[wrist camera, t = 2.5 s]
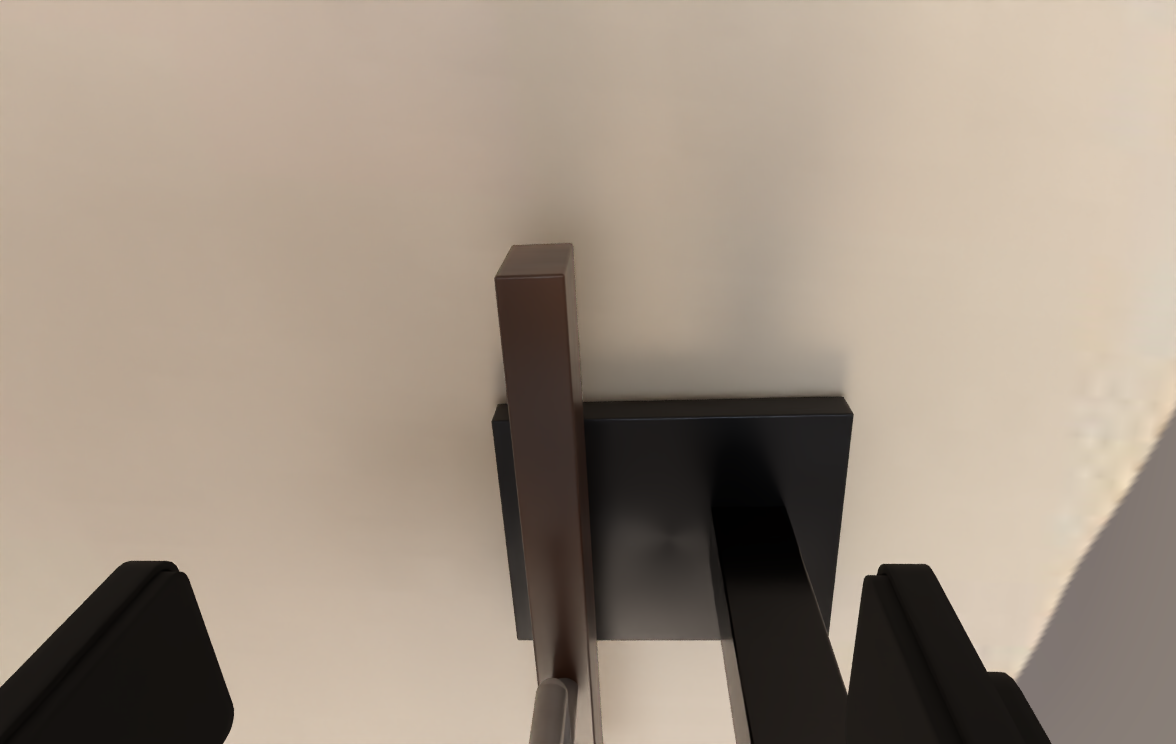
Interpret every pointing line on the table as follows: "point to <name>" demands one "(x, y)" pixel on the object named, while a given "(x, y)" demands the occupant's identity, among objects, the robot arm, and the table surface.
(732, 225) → the table surface
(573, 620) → the hanger
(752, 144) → the table surface
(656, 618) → the coat stand
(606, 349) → the table surface
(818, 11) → the table surface
